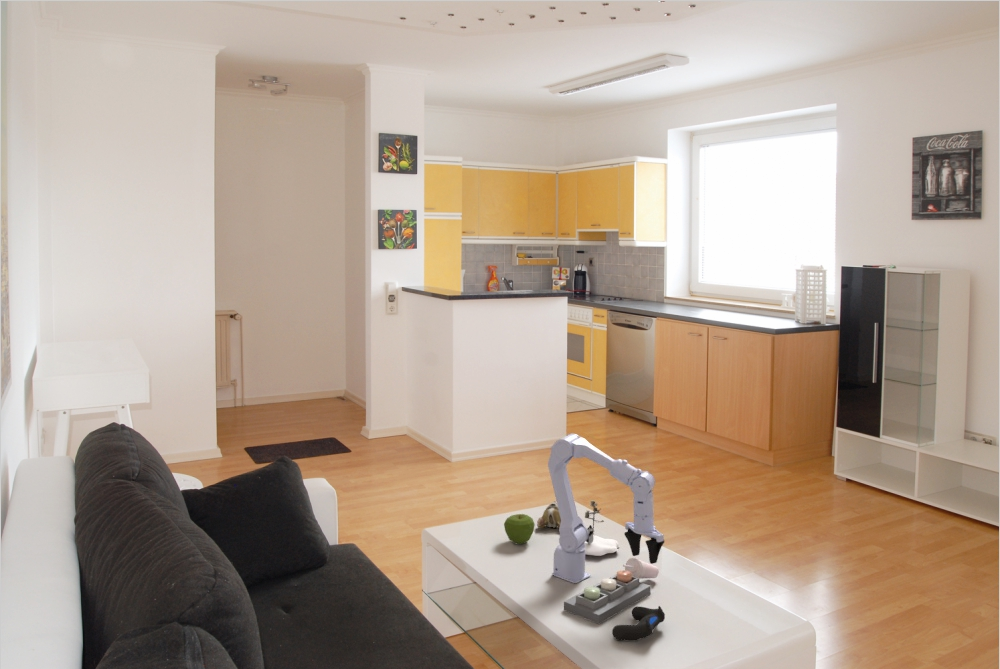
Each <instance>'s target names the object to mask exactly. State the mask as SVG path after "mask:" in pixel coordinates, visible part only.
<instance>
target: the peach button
mask: <svg viewBox="0 0 1000 669" xmlns="http://www.w3.org/2000/svg"><path fill="white" fill-rule="evenodd" d="M616 574H617V581H620V582H623V583H629V582H631V581H632V573H631V572H629V571H625V570H618V571H617V572H616Z"/></svg>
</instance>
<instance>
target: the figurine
mask: <svg viewBox="0 0 1000 669" xmlns="http://www.w3.org/2000/svg"><path fill="white" fill-rule="evenodd" d="M596 506H598V503H596V501H595V500H590V507H592V511H593V512H590V510H587V511H585V512H584V518H585V519H587V520H588V519H589V520H592V525H589V526H588V527H586V529H587V530H588V539H587V540H586V541H585V555H589V556H595V557H596V556H598V557H600V556H604V555H606V554H613V553H615V552H617V551H619V549H618V548H620V544H619V542H618V541H617V540H616V539H613V538H612V539H611V538H603V537H601V536H598V535H594V532H595V530H594V528H595V527H594V526H595V522H596V523H605V521H604V520H603V519H601V520H595V516H596V514H600V513H601V512H600V511H601V509H602V508H599V509H598V507H596ZM590 516H592V517H590Z"/></svg>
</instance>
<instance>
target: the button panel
mask: <svg viewBox="0 0 1000 669" xmlns="http://www.w3.org/2000/svg"><path fill="white" fill-rule="evenodd" d="M607 579H613V580H615V581H616V590H614V591H612V592H609V591H606V590H603V589H601V581H600V582H599V583H597V584H595V585H593V586H592V587H595V588H598V589H599V590H600V598H599V599H597V600H596V601H592V600H589V599H587V598H584V590H583V591H582V592H579V593H578V594H576V595H573V596H572V597H570V598H568V599H566V600H564V601H563V611H565V612H568V613H570V614H574V615H575V616H577V617H580V618H584V619H585V620H588V621H590V622H592V623H595V624H598V625H600V624H601V623H603V622H605V621H607V620H608V619H610V618H612V617H614V616H615V615H616V614H618V613H620V612H621V611H623V610H626V609H628V607H630V606H632V605H634V604H635V603H638V602H639V601H641V600H643V599H644V598H645V597H648V596H650V595H651V588H652V587H651V585H649V584H647V583H644V582H641V581H640V579H639V578H637V577H634V576H632V581H631V582H629V583H623V582H620V581H617V573H616V574H614V575H612V576H610V577H608V578H607Z"/></svg>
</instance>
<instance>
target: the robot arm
mask: <svg viewBox="0 0 1000 669" xmlns="http://www.w3.org/2000/svg"><path fill="white" fill-rule="evenodd" d="M549 455H550V456H549V458H548V461H547V462H548V463H547V467H548V471H549V475H550V480H551V485H552V488H553V492H554V496H555V502H556V503H557V505H558V509H559V513H560V518H561V523H560V527H559V528H558V531H559V538H558V543H559V545H557V546H556V548H555V550H554V553H553V572H552V573H551V576H553V575H554V576H553V577H557V578H559V579H562V580H565V581H567V582H570V583H573V584H577V583H581V582H582V581H583V580H585V579H587V578H589V577H591V574H590V573H587V572H586V554H585V541H586V540H587V539H588V529H587V527H586V526H585V525H584V521H583V519H582V518H581V517H580V516H579V514H578V510H577V506H576V502H575V498H574V494H573V490H572V486H571V485H572V484H571V481H570V477H569V473H568V468H567V466H568V465H569V463H570V461H571V460H572V458H573V459H580V458H581V459H582V458H586V459H588V460H589V461H592V462H594V463H595V464H597V465H600V466H601V467H603V468H605V469H606V470H608V471H609V474H610V476H611V477H612V478H614V479H616V480H618V481H619V482H621V483H622V484H624V485H626V486H627V487H629V489H630V490H631V492H632V493H633V522H631V521H628V522H625V524H624V527H625V528H624V529H625V530H626V532H624V537H625V538H626V540H627V542H628V544H629V547H630V552H631V554H632V557H636V556H639V555H640V554H641V553H640V551H641V538H642V535H643V536H645V537H647V538H649V539H647V540H645V545H646V547H647V551H648V560H649V561H648V562H649V564H651V565H654V564H656V563H658V558H659V554H660V552H661V550H662V547H663V545H664V543H665V539H664V538H665V536H664V534H663V533H661V532H660V531H659V530H658V529H656V527H657V526H655V525H654V523H655V522H654V494H653V493H654V490H653V489H654V487H655V484H656V480H655V477H654V475H653V474H651V473H650V472H649V471H648V470H642V469H640V468H637V467H635V466H633V465H631V464H629V462H628V460H626V459H621V458H618V459H614V458H612V457H611V456H609V455H608V454H606V453H605V452H603V451H602V450H600V449H599V448H597V447H596V446H594V445H593V444H591V443H590V442H589V441H588V440H587V439H586V438H584V437H582V436H580V435H579V434H576V433H569V434H567V435H566V436H564V437H562V438H559V439H558V440H556V441H555V442H554V443H553V444H552V446H550V454H549Z"/></svg>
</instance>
